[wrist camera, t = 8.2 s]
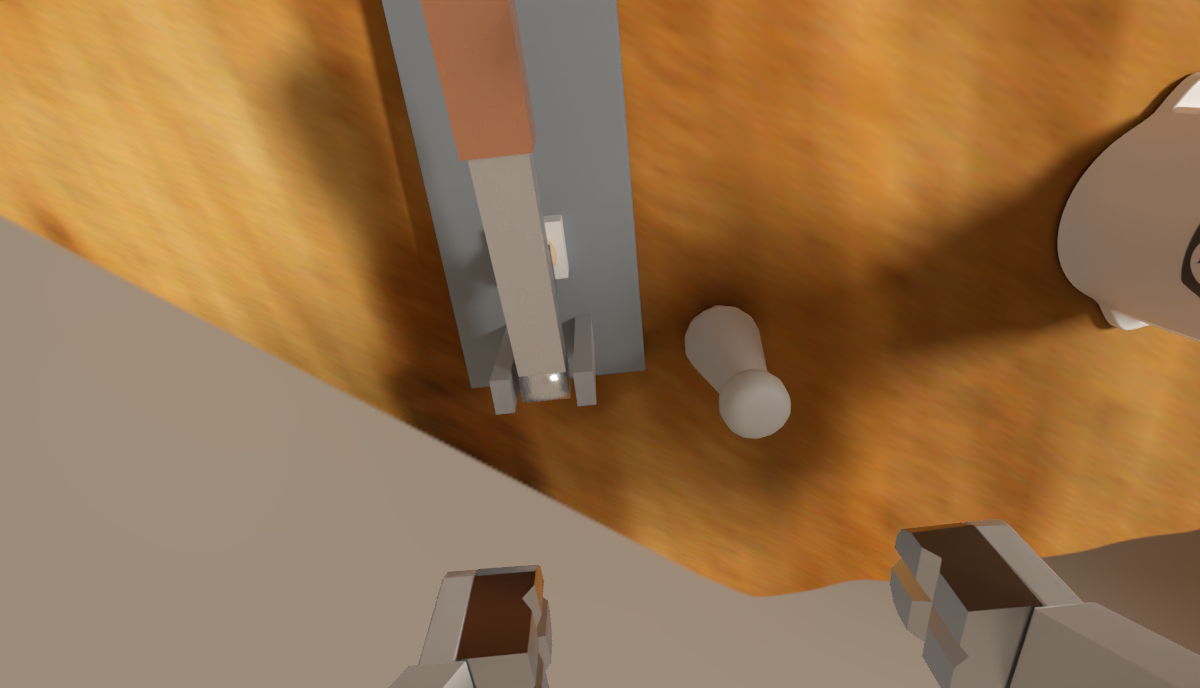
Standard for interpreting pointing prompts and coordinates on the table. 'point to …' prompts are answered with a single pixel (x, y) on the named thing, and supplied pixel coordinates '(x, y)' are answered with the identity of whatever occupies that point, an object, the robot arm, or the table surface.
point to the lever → (503, 176)
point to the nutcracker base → (566, 186)
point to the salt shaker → (737, 371)
